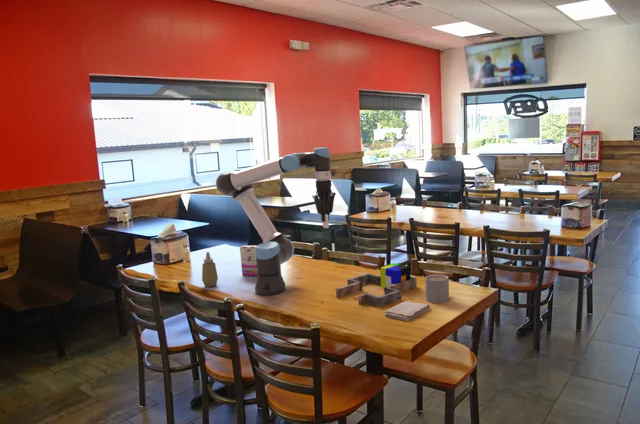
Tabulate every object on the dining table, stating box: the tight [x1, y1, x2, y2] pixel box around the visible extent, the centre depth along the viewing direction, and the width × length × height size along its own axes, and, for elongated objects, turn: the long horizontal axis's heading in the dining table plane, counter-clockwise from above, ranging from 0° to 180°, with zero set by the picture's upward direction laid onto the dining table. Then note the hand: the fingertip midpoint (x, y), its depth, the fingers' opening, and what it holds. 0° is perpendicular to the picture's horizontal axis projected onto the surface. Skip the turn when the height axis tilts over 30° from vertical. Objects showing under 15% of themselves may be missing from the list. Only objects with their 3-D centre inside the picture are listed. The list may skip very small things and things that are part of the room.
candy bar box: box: [239, 244, 258, 277], centre depth 290 cm, size 11×5×16 cm, turn 68°
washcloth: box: [384, 300, 431, 322], centre depth 220 cm, size 12×18×3 cm, turn 140°
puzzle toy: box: [379, 262, 411, 289], centre depth 254 cm, size 10×10×10 cm
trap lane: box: [335, 273, 418, 308], centre depth 249 cm, size 36×32×5 cm
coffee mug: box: [424, 273, 450, 304], centre depth 234 cm, size 13×10×10 cm
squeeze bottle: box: [201, 251, 219, 288], centre depth 273 cm, size 8×8×18 cm
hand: (325, 227), depth 259 cm, fingers closed
